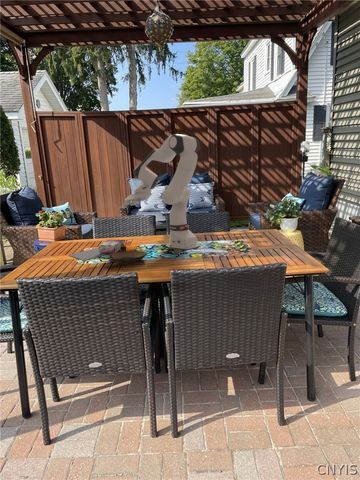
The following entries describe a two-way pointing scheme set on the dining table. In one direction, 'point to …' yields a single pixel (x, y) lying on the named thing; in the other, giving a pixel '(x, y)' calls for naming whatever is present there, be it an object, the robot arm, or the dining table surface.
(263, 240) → the dining table surface
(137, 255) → the oil lamp
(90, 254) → the grey mat
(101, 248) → the candy bar box
